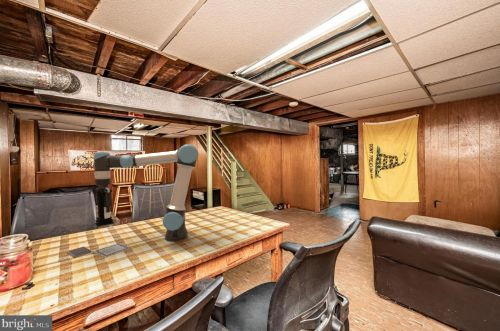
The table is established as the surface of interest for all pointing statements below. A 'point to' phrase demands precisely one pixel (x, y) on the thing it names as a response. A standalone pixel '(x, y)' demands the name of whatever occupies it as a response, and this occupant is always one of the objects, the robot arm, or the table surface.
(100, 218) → the chess piece
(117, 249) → the print sheet
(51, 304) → the table surface
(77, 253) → the ink pad
